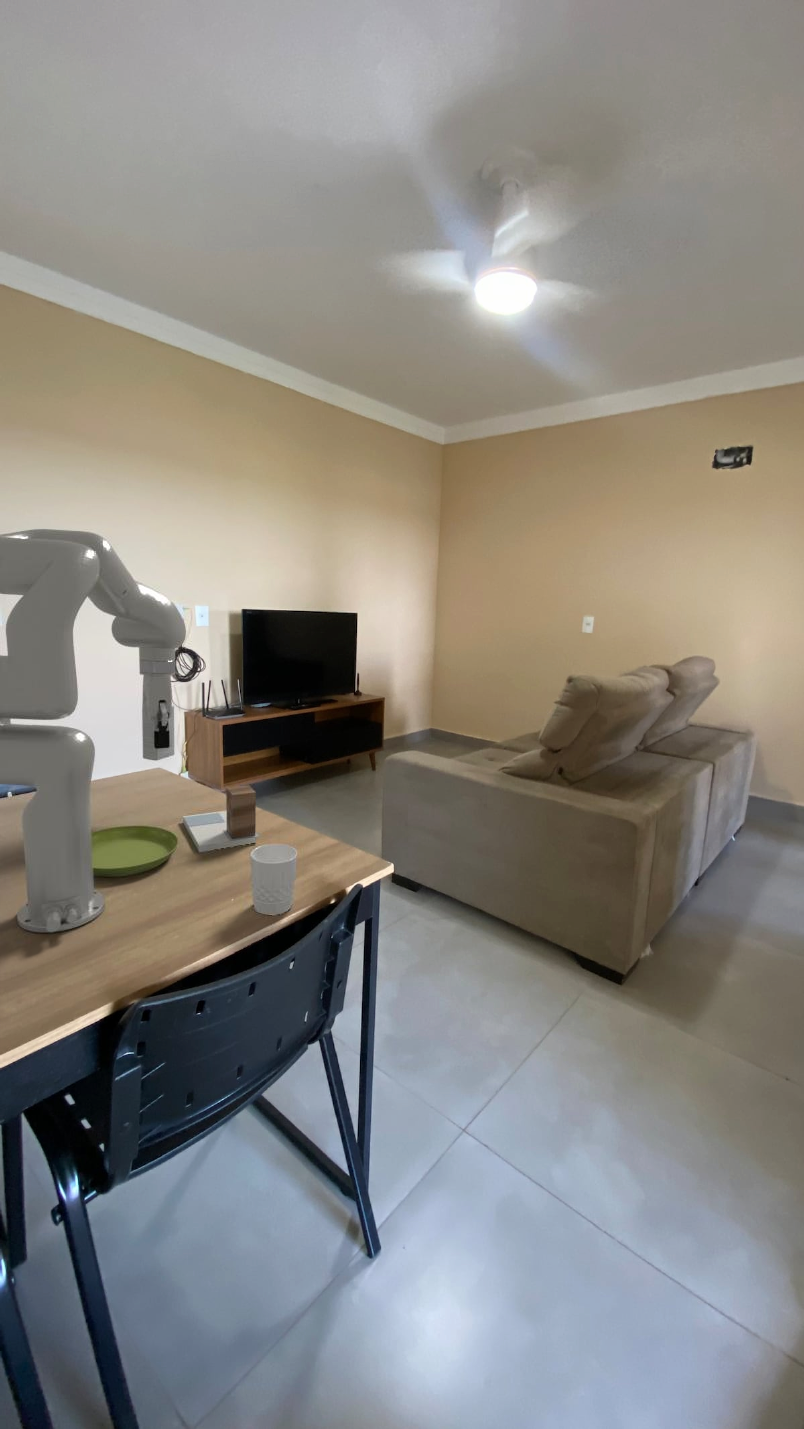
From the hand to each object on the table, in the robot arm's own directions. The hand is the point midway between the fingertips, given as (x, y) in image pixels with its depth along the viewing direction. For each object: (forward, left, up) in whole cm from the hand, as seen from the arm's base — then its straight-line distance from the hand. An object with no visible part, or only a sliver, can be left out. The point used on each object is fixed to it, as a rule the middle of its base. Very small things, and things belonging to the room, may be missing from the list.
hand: (158, 743), depth 137 cm
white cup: (-50, -11, -18) cm, 54 cm away
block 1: (-20, -14, -12) cm, 27 cm away
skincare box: (0, 0, -4) cm, 4 cm away
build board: (-14, -10, -18) cm, 25 cm away
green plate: (-20, +10, -19) cm, 29 cm away
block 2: (-20, -14, -17) cm, 29 cm away
